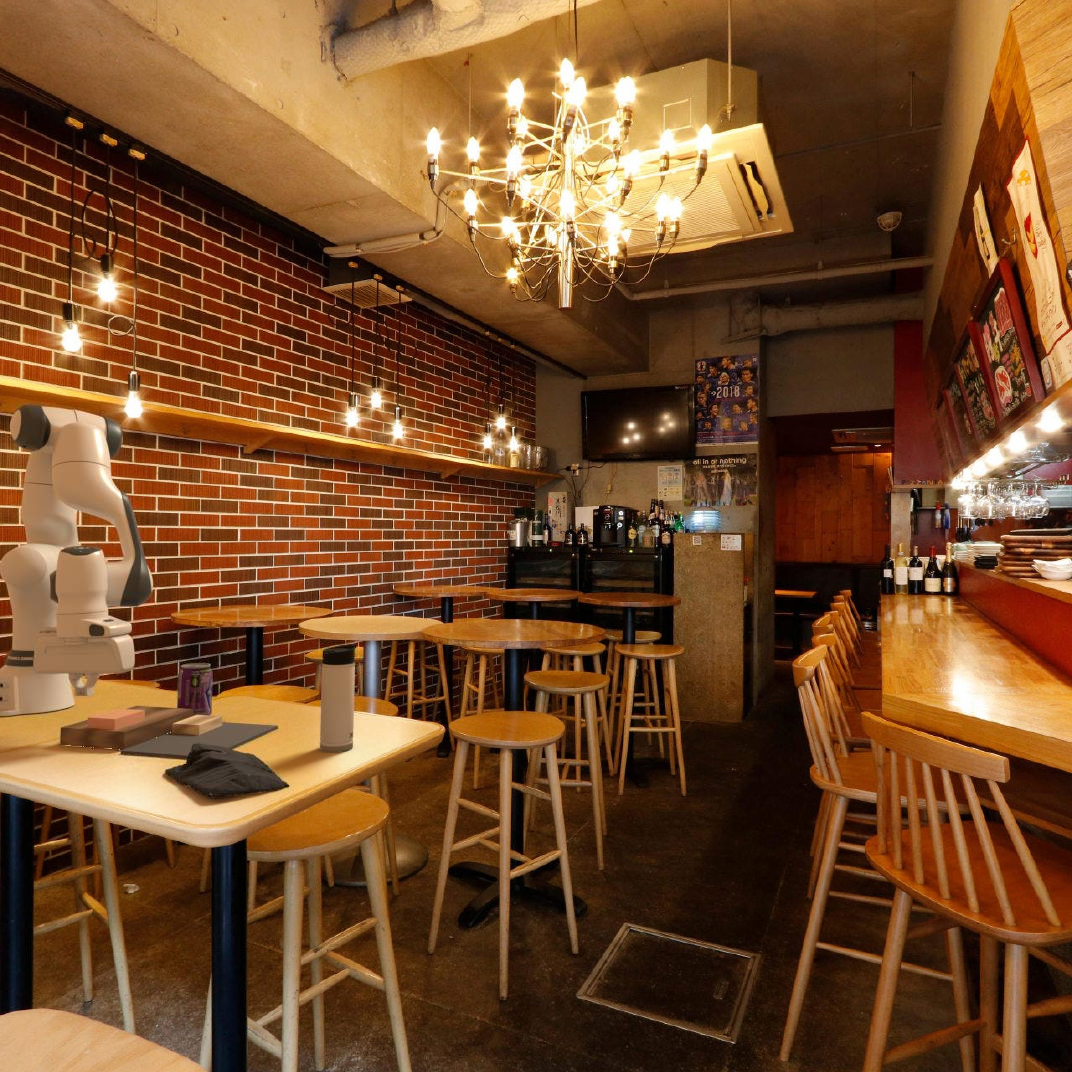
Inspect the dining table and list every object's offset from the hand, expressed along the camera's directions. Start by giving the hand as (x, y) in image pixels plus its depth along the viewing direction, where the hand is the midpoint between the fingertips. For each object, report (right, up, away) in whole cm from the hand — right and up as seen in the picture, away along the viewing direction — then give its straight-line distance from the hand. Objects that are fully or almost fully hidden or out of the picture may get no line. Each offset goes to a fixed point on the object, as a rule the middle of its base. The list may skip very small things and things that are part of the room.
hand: (84, 695), depth 141 cm
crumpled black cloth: (+39, -10, -23) cm, 46 cm away
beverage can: (+13, -10, +18) cm, 25 cm away
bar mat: (+24, -9, 0) cm, 26 cm away
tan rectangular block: (+20, -9, +6) cm, 22 cm away
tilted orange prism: (+8, -5, -2) cm, 9 cm away
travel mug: (+52, -10, -4) cm, 53 cm away
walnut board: (+7, -9, +3) cm, 12 cm away
